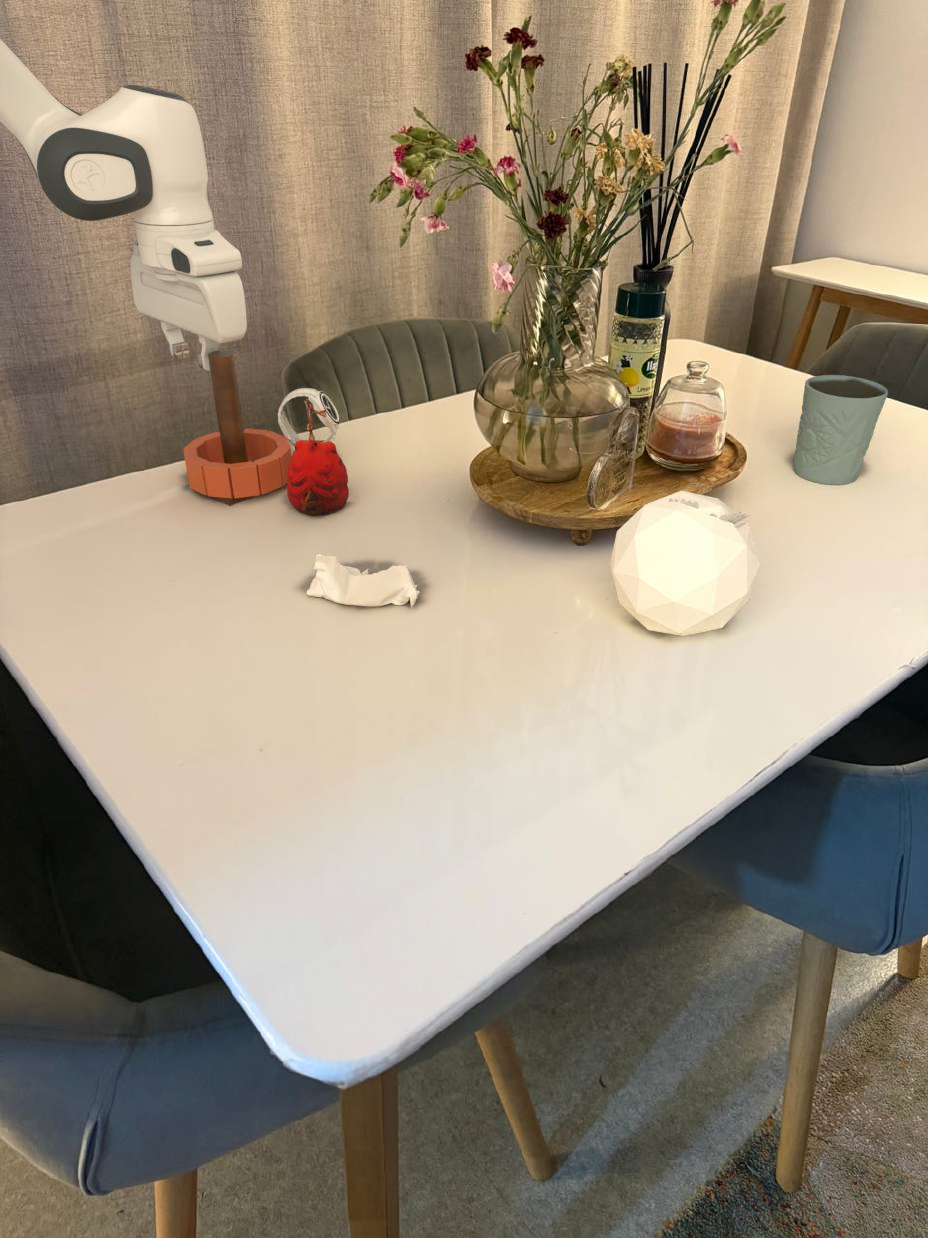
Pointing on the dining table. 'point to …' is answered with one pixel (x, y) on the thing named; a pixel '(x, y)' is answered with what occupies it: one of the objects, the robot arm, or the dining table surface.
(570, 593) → the dining table surface
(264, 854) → the dining table surface
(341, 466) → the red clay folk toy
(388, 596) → the fabric
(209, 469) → the hoop
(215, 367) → the peg stand
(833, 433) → the green embossed cup
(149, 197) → the robot arm
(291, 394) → the watch
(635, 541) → the geodesic sphere
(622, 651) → the dining table surface
